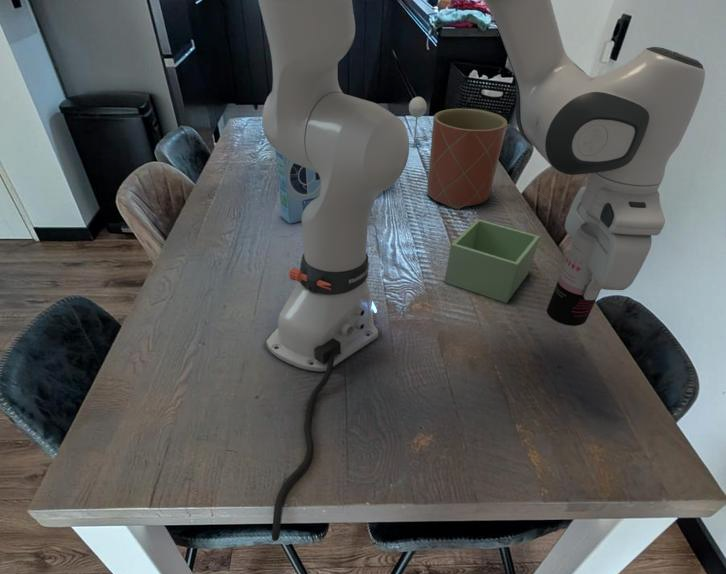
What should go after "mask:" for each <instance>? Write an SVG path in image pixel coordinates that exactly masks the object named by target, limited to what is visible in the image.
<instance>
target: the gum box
mask: <svg viewBox="0 0 726 574" xmlns="http://www.w3.org/2000/svg"><path fill="white" fill-rule="evenodd" d="M274 152H275V153H274V154H275V162H276V171H277V181H278V190H279V201H280V212H281V218H282V219H283V220H285V221H286V222H287V223H288V224H289V225H291V224H295V223H298V222H302V214H303V211H304V209H305V208H306V206H307V205H308V204H309V203H310V202H311V201H313V200H314V199H316V198H318V197H319V194H320V189H321V181H320V177H319V174H318V173H317V172H314V171H312V170H309V169H307V168H305V167H302V166H300V165H297V164H295V163H293V162H291V161H290V160H288V159H287V158H286V157H284V156H283V155H282V154H280V153H279V152H278V151H277V150H276V149H275V148H274Z"/></svg>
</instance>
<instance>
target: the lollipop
mask: <svg viewBox="0 0 726 574" xmlns="http://www.w3.org/2000/svg"><path fill="white" fill-rule="evenodd" d="M427 108H428V105H427V102H426V100H425V99H424V98H423V97H422V96H415V97H413V98H412V99H411V100H410V102H409V103H408V112H409V114H410V115H411V116H412V117H413V118H415V125H414V135H413V136H414V137H413V148H415V147H416V139H417V138H416V137H417V128H418V118H421V117H423V116H424V115H425V113H426V112H427Z"/></svg>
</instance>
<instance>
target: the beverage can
mask: <svg viewBox="0 0 726 574" xmlns="http://www.w3.org/2000/svg"><path fill="white" fill-rule="evenodd" d="M586 224H587V222H585V223H583V224H581V226H580V228H579V229H578V230H577V232H576V235H575V238H574V240H573V241H572V243H571V245H570V248H569V251H568V254H567V256H566V258H565V261H564V263H563V266H562V269H561V272H560V274H559V277H558V280H557V282H556V284H555V287H554V290H553V292H552V295H551V296H550V297H551V298H550V300H549V303H548V305H547V308H546V313H547V315H548V317H549V318H550V320H552V321H553V322H554V323H556V324H558V325H561V326H564V327H568V328H572V327H579V326H581V325H584V324H585V323H586V322H587V320H588V318H589V316H590V314H591V311H592V309H593V307H594V305H595V303H596V301H597V298H598V296H599V294H600V292H601V290H600V291H599V293H598V295H597V297H596V299H594V300H585V299H584V297H583V295H582V291H583V289H584V286H585V285H589V284H590V283H591V281H592V279H591V277H592V275H593V274H592V272H591V271H590V269H589V267H588V266H587V261H588V258H589V256H590V254H591V252H592V249H593V247H594V245H595V240H598V238H595V236H594V235H593V234H592V232H591V231H590V229H589V228H588V227H587V226H586Z"/></svg>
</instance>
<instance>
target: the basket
mask: <svg viewBox="0 0 726 574" xmlns="http://www.w3.org/2000/svg"><path fill="white" fill-rule="evenodd" d="M540 238H541V236H540V235H537V234H534V233H530V232H526V231H523V230H520V229H517V228H512V227H509V226H505V225H501V224H498V223H493V222H490V221H486V220H483V219H480V218H477V219H476V220H475V221H474V222H473V223H472V224H471V225H469V227H468V228H467V229H465V230H464V231H463V232H462V233H461V234H460V235H459V236H458V237H457V238H456V239H455V240H454V241H453V242H452V243H451V244H450V246H449V247H450V248H449V255H448V258H447V259H448V260H447V265H446V271H445V278H444V283H446V284H449V285H451V286H455V287H458V288H461V289H464V290H467V291H470V292H472V293H475V294H478V295H481V296H484V297H487V298H490V299H493V300H496V301H499V302H502V303H505V304H506V303H508V302H509V301H510V299H511V298H512V297H513V295H514V294H515V293H516V291H517V290H518V289H519V287H520V286H521V285H522V283H523V282H524V280H525V279H526V278H527V276H528V275H529V273H530V270H531V267H532V264H533V262H534V261H533V260H534V257H535V255H536V251H537V248H538V245H539V241H540Z"/></svg>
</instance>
